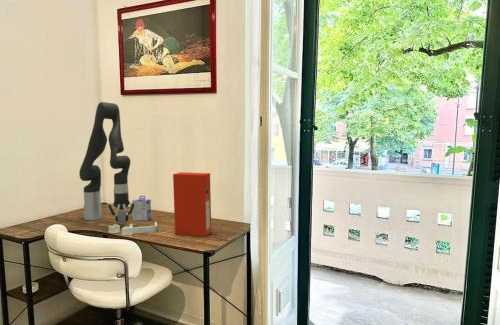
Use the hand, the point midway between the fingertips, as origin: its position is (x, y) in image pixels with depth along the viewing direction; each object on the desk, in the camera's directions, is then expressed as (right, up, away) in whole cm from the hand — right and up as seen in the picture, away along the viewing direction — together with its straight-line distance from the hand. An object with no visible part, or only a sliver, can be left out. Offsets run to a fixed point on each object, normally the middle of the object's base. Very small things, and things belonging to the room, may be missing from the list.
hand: (122, 221), depth 186 cm
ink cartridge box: (+6, -2, +18) cm, 19 cm away
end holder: (+13, -4, -4) cm, 15 cm away
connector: (-1, 0, +2) cm, 3 cm away
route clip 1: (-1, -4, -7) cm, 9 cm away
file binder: (+42, -5, -11) cm, 43 cm away
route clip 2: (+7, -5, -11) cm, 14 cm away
